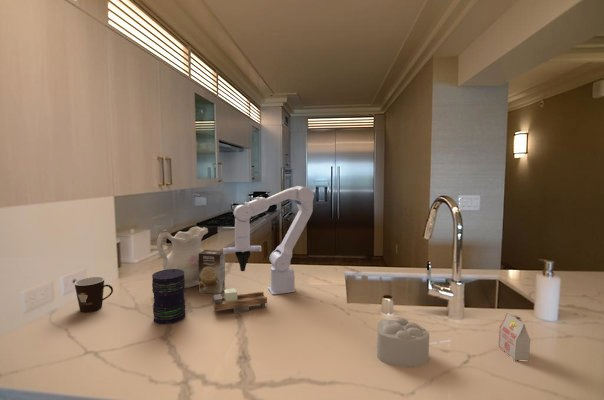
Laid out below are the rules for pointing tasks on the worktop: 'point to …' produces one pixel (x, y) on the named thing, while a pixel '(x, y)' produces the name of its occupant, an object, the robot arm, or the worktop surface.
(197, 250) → the ceramic pitcher
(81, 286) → the coffee mug
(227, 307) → the beam
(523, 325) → the gable top carton
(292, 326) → the worktop surface
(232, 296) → the block
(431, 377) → the worktop surface
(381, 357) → the lumpy-topped squat cylinder
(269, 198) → the robot arm
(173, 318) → the storage jar
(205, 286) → the coffee box
